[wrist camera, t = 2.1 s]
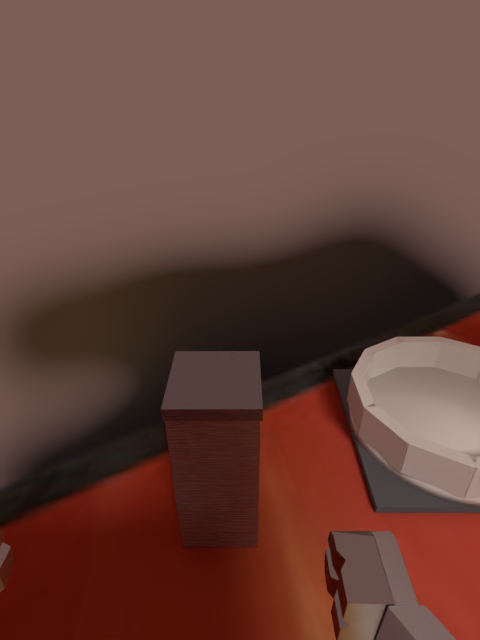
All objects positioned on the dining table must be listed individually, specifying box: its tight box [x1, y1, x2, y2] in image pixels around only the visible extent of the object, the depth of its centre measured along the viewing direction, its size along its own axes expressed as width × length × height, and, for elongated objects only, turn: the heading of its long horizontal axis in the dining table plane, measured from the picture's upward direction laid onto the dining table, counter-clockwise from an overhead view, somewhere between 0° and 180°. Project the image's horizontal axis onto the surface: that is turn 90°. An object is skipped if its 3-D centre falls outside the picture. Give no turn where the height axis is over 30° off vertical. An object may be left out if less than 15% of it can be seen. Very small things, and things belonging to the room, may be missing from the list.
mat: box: [333, 369, 480, 513], centre depth 36 cm, size 16×16×1 cm
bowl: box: [347, 337, 480, 507], centre depth 35 cm, size 16×16×4 cm
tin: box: [161, 351, 263, 547], centre depth 26 cm, size 5×5×12 cm
